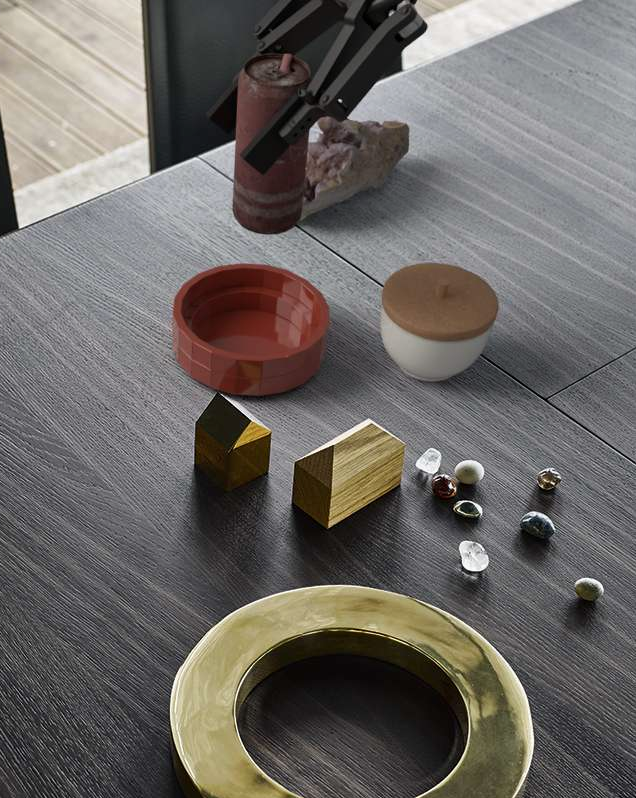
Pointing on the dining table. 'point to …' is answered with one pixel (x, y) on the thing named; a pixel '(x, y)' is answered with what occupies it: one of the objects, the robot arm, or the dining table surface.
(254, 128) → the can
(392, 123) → the mineral specimen
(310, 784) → the dining table surface
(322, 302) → the bowl
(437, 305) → the trinket box
